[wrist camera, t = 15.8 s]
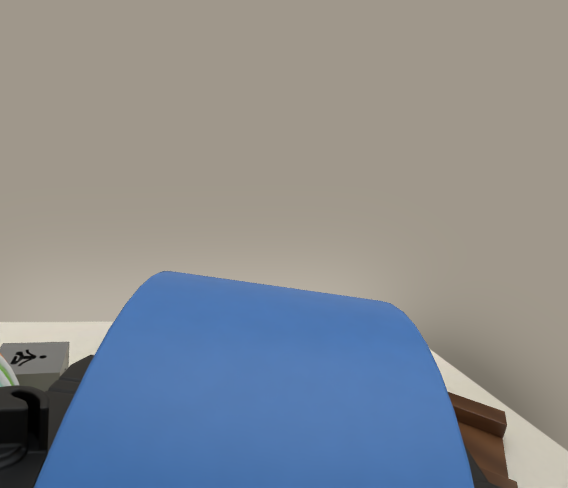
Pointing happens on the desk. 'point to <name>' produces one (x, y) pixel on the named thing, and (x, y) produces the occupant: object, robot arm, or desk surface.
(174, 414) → the tape roll
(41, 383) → the dice cube
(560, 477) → the desk surface
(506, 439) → the desk surface
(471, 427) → the tape holder
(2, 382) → the turtle holder
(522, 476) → the desk surface
